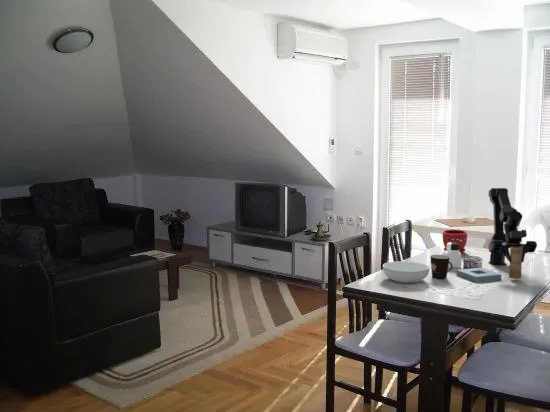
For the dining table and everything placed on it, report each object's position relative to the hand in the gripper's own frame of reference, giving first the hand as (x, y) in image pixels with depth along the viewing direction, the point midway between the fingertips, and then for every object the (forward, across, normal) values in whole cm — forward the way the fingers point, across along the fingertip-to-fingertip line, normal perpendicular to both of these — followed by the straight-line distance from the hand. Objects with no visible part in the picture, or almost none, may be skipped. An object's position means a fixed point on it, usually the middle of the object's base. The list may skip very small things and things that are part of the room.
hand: (516, 261), depth 257 cm
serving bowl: (+11, -49, +2) cm, 50 cm away
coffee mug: (+6, -33, +6) cm, 34 cm away
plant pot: (-36, -18, +50) cm, 64 cm away
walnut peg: (+4, 0, +6) cm, 8 cm away
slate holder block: (+3, -15, +10) cm, 18 cm away
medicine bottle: (-12, -24, +25) cm, 37 cm away
